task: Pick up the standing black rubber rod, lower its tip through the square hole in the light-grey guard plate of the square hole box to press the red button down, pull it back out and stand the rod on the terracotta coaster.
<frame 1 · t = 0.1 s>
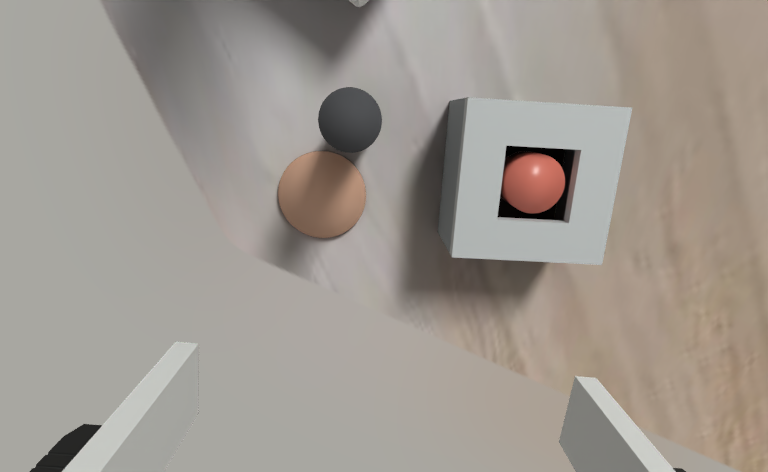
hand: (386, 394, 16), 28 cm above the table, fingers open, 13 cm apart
rod: (358, 118, 40), on the table
button: (528, 181, 36), point 6 cm above the table, slide at 0.0 cm
coaster: (322, 194, 42), on the table
square hole box: (507, 172, 42), on the table
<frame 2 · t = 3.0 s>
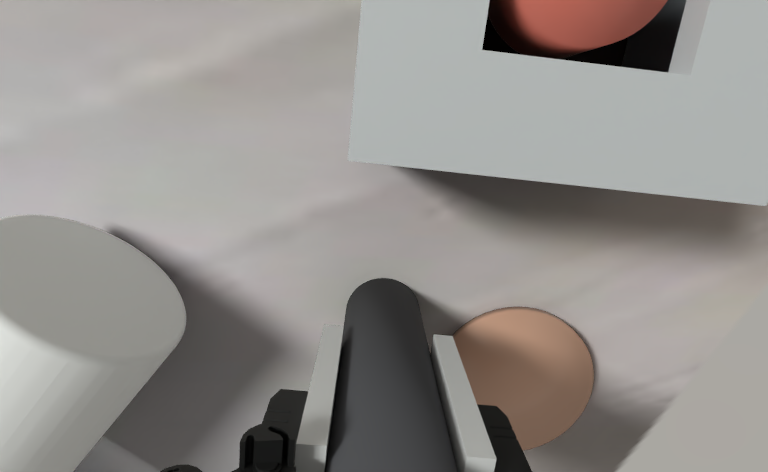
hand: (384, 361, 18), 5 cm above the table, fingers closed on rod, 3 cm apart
rod: (382, 312, 22), on the table, touching gripper
coaster: (511, 378, 23), on the table
mug: (54, 298, 22), on the table
square hole box: (514, 13, 19), on the table
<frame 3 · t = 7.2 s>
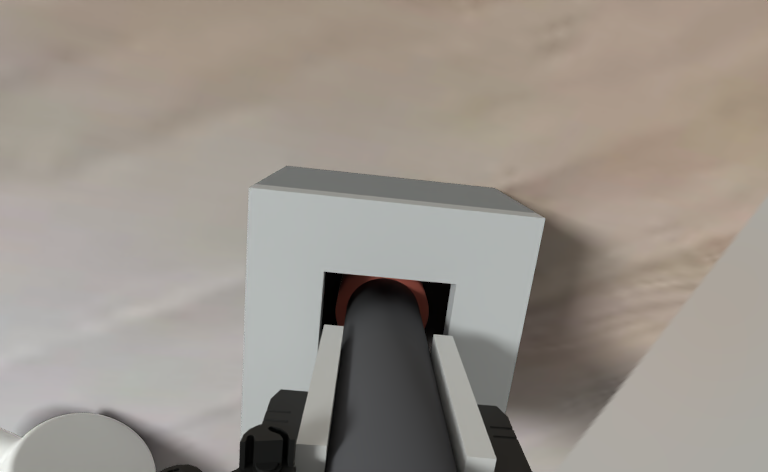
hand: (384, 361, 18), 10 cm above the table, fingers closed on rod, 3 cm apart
rod: (382, 312, 22), point 5 cm above the table, touching gripper
button: (381, 300, 24), point 4 cm above the table, slide at 2.0 cm
mug: (63, 453, 30), on the table
square hole box: (380, 275, 27), on the table
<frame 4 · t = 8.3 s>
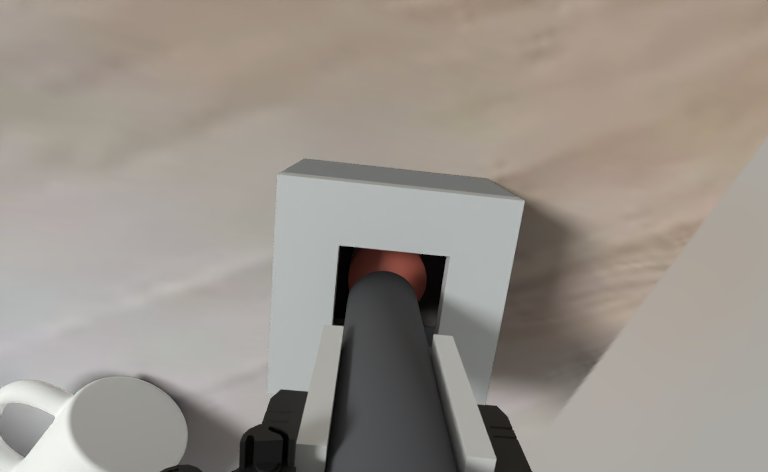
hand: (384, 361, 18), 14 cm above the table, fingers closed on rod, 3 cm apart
rod: (382, 303, 23), point 8 cm above the table, touching gripper
button: (386, 271, 28), point 3 cm above the table, slide at 2.6 cm
mug: (103, 414, 34), on the table
square hole box: (386, 255, 31), on the table
when the fingers open (6 cm above the table, at t = 13.9 s): rod stays where it is, resting on coaster.
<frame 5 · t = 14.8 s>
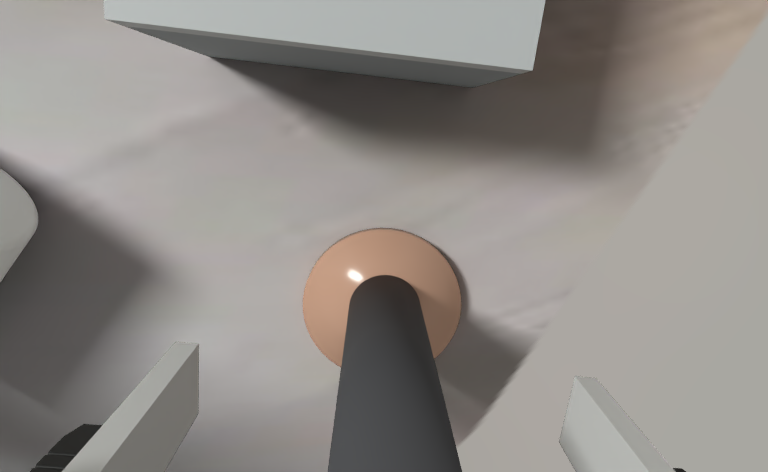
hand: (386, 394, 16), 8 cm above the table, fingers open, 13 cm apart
rod: (384, 308, 23), point 1 cm above the table, touching coaster
coaster: (382, 302, 23), on the table
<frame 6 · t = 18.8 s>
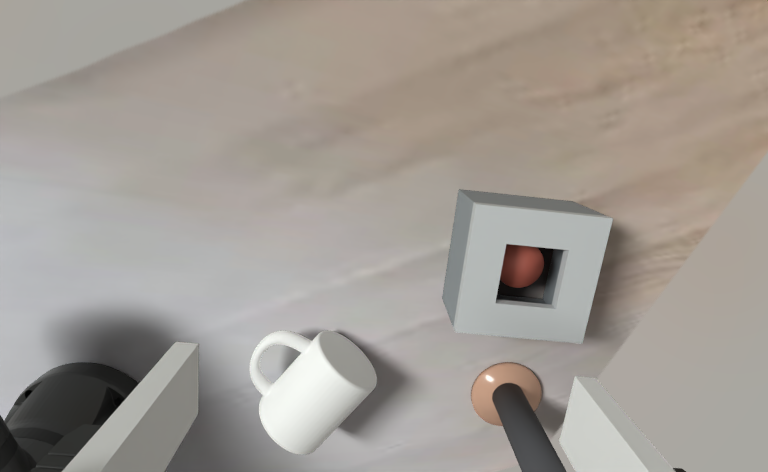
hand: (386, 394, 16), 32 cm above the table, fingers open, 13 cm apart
rod: (507, 396, 52), point 1 cm above the table, touching coaster
button: (515, 260, 45), point 3 cm above the table, slide at 2.6 cm
coaster: (505, 393, 52), on the table
mug: (308, 359, 51), on the table
square hole box: (506, 251, 48), on the table
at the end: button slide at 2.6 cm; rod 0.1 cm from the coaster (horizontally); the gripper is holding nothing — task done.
